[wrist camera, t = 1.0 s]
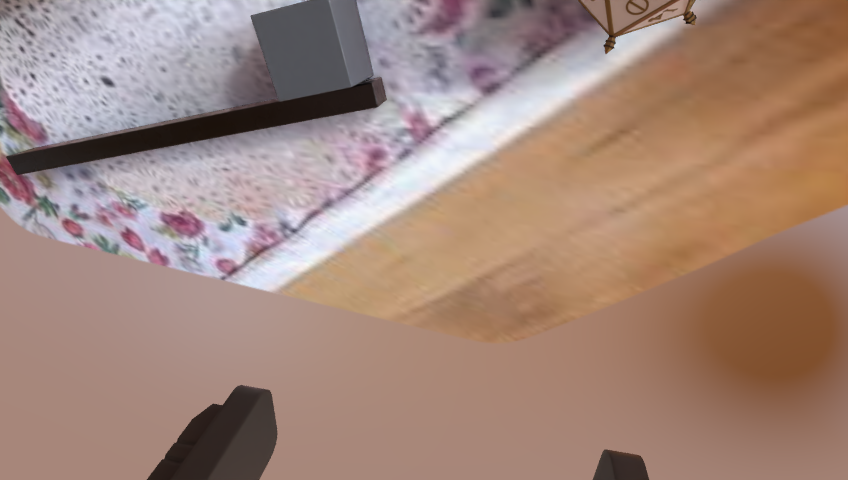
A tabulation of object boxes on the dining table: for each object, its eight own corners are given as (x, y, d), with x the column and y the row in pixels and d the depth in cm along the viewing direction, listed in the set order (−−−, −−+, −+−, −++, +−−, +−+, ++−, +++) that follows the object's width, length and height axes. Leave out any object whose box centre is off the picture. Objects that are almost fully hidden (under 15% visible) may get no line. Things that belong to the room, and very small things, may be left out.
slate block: (286, 13, 31) (249, 15, 27) (354, -5, 30) (328, -5, 26) (309, 88, 33) (278, 102, 29) (374, 75, 32) (352, 87, 28)
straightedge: (33, 148, 40) (5, 156, 38) (381, 76, 32) (372, 82, 30) (43, 165, 41) (16, 175, 38) (387, 100, 33) (378, 107, 31)
